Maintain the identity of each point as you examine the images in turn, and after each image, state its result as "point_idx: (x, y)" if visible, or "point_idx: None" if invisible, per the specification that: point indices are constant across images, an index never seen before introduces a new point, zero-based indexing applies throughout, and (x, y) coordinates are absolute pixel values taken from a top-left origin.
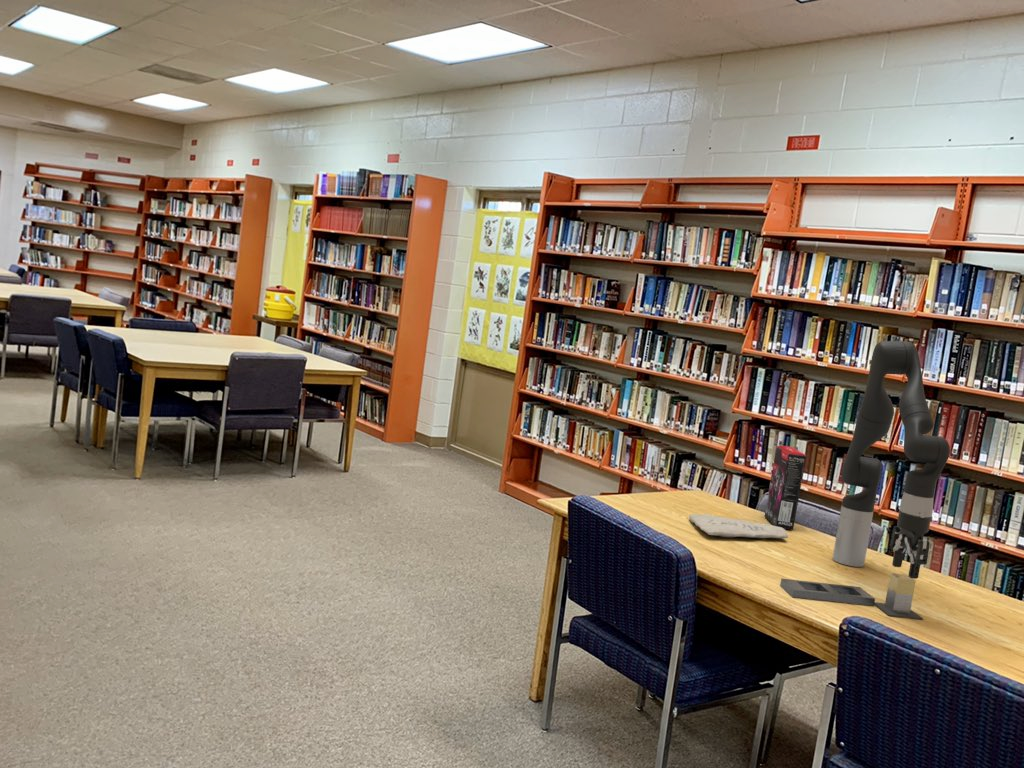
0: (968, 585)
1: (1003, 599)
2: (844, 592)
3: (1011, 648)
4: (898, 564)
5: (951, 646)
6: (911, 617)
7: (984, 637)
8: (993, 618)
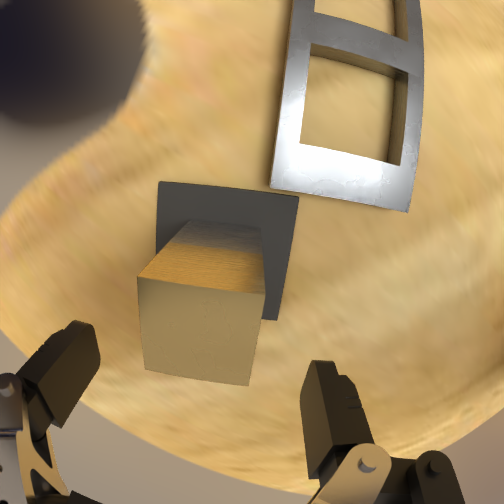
0: None
1: None
2: (392, 138)
3: None
4: (306, 395)
5: (8, 249)
6: None
7: (94, 378)
8: (232, 460)
